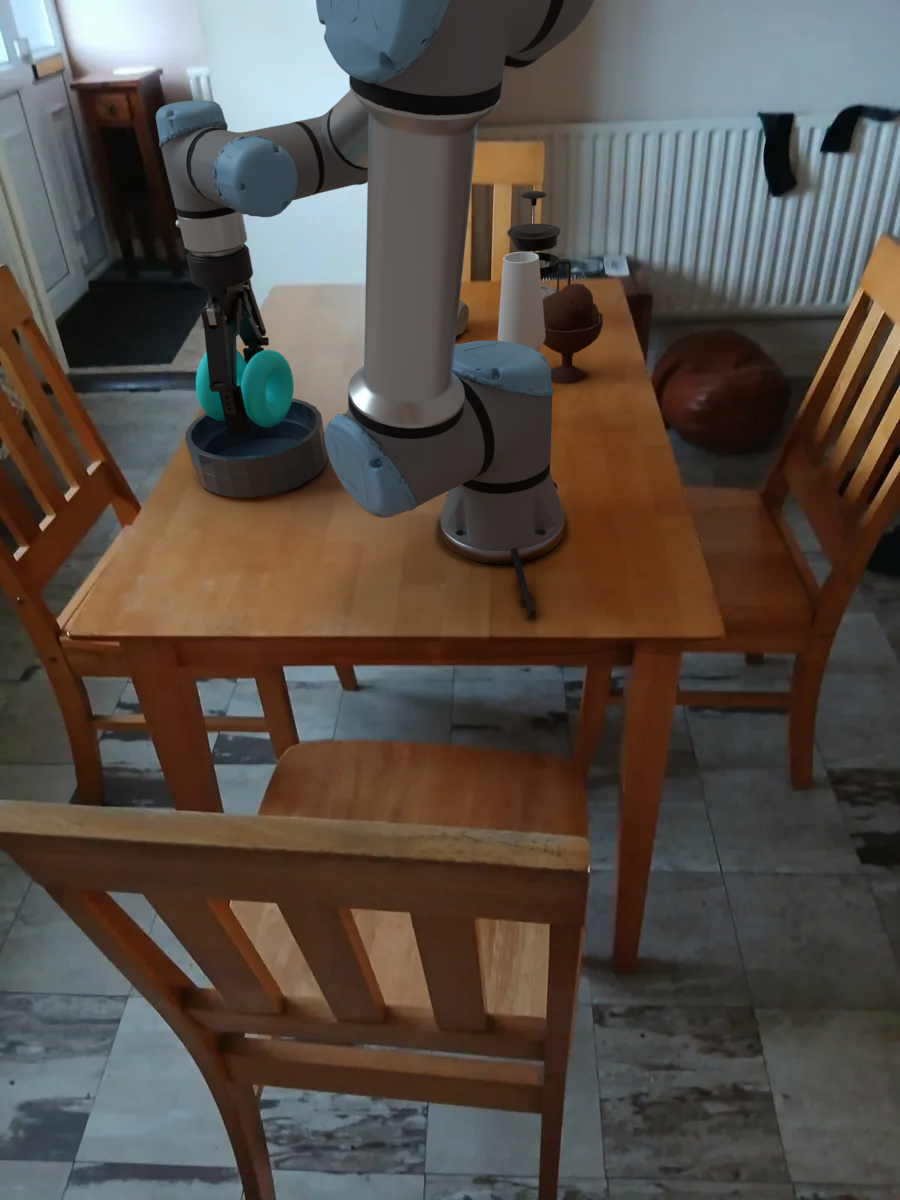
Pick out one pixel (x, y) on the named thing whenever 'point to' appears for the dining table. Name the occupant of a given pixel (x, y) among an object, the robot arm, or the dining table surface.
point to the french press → (539, 243)
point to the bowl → (258, 453)
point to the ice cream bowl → (570, 327)
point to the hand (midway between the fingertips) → (251, 412)
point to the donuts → (253, 388)
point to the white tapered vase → (521, 301)
